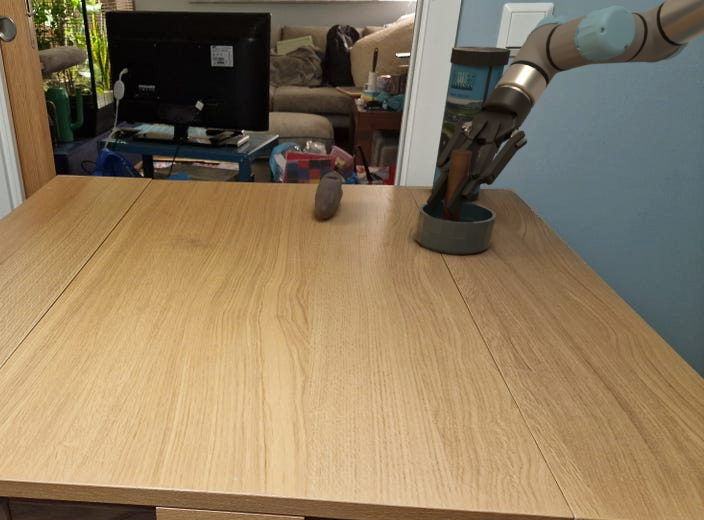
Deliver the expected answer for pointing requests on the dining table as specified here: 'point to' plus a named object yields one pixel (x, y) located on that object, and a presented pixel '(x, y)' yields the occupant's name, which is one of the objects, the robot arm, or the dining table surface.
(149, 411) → the dining table surface
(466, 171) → the muddler
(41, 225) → the dining table surface
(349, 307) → the dining table surface
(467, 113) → the advertising column
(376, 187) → the dining table surface
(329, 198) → the perforated stone tool
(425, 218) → the bowl
